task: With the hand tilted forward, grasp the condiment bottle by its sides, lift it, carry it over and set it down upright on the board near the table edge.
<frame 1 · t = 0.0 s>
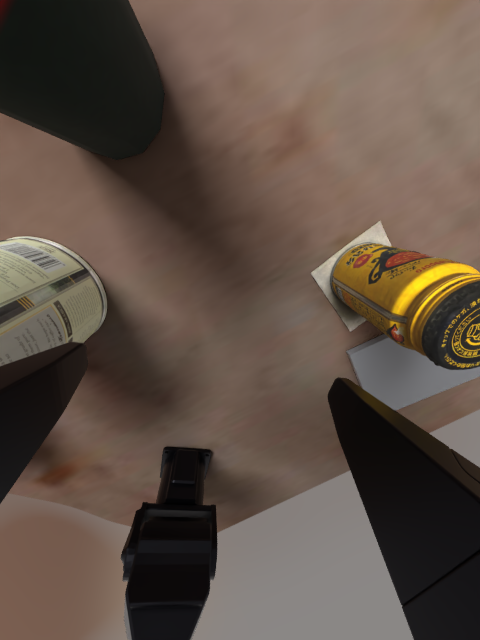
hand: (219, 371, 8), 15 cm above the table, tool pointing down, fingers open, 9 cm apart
wine bottle: (102, 67, 15), on the table
board: (415, 361, 28), on the table
condiment: (361, 280, 23), on the table
coffee can: (51, 294, 22), on the table
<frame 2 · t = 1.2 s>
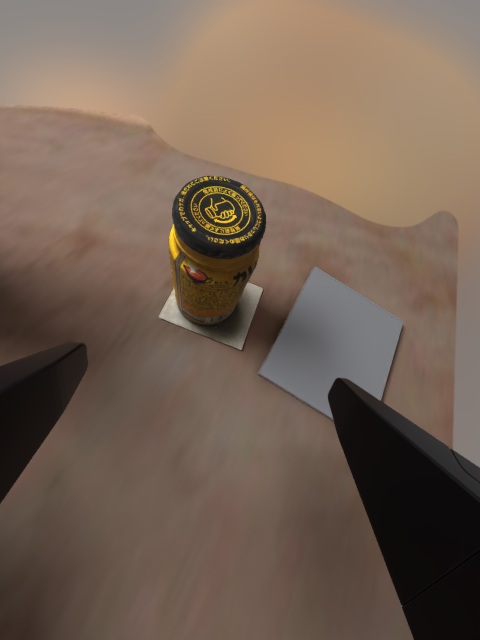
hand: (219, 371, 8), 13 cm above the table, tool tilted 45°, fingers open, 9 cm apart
board: (334, 346, 25), on the table
condiment: (214, 303, 24), on the table
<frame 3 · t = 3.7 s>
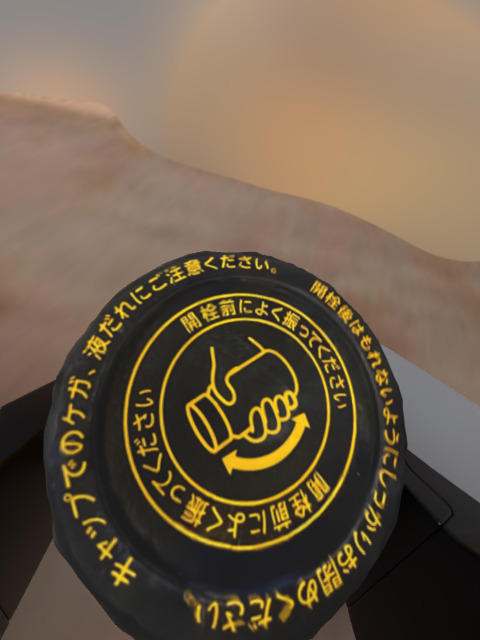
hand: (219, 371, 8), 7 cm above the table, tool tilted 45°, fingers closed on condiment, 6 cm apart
board: (402, 472, 15), on the table
condiment: (216, 407, 14), on the table, touching gripper
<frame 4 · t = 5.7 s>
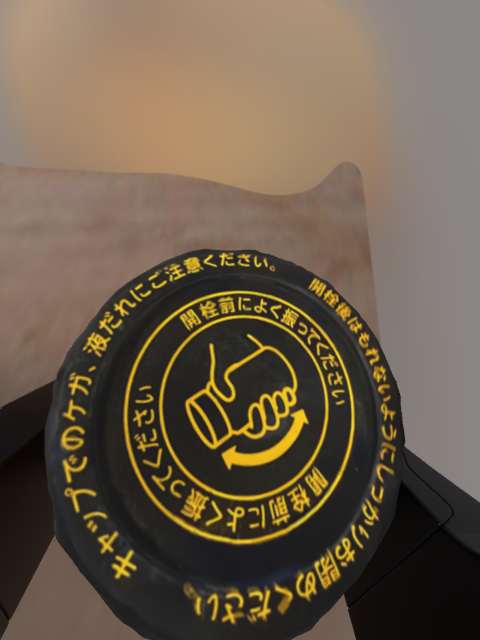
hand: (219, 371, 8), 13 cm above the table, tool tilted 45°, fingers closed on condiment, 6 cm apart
condiment: (215, 406, 14), point 6 cm above the table, touching gripper
when the fingers open (8 cm above the table, at t = 7.9 s): condiment stays where it is, resting on board.
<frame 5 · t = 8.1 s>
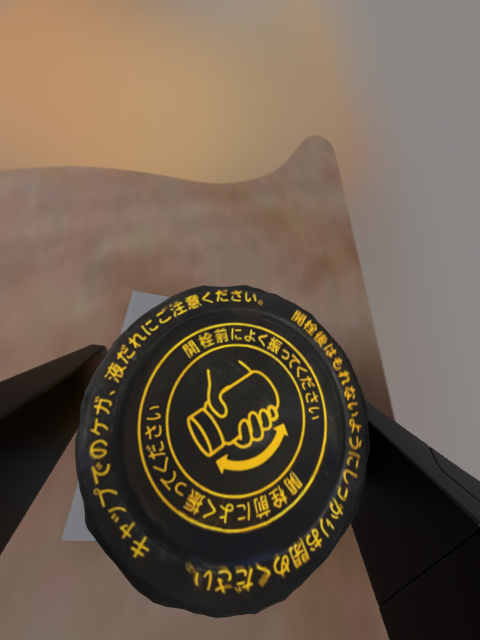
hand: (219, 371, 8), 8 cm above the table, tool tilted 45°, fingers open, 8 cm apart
board: (202, 404, 16), on the table
condiment: (214, 409, 15), point 1 cm above the table, touching board
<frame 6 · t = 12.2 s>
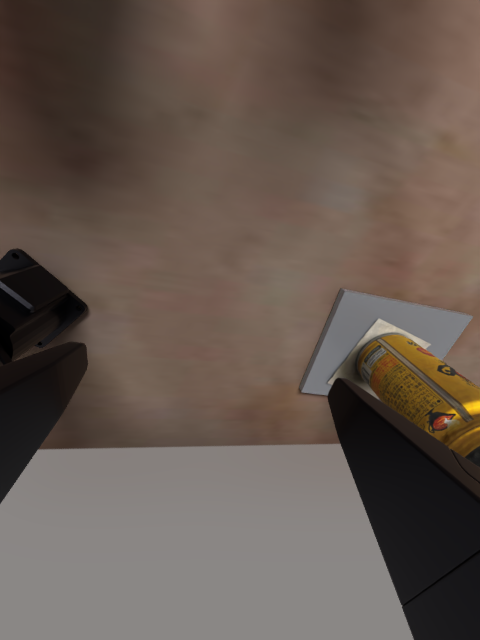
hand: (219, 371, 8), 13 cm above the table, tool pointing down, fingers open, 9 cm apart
board: (377, 352, 25), on the table
condiment: (375, 361, 25), point 1 cm above the table, touching board
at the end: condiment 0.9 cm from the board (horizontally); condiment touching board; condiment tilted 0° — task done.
